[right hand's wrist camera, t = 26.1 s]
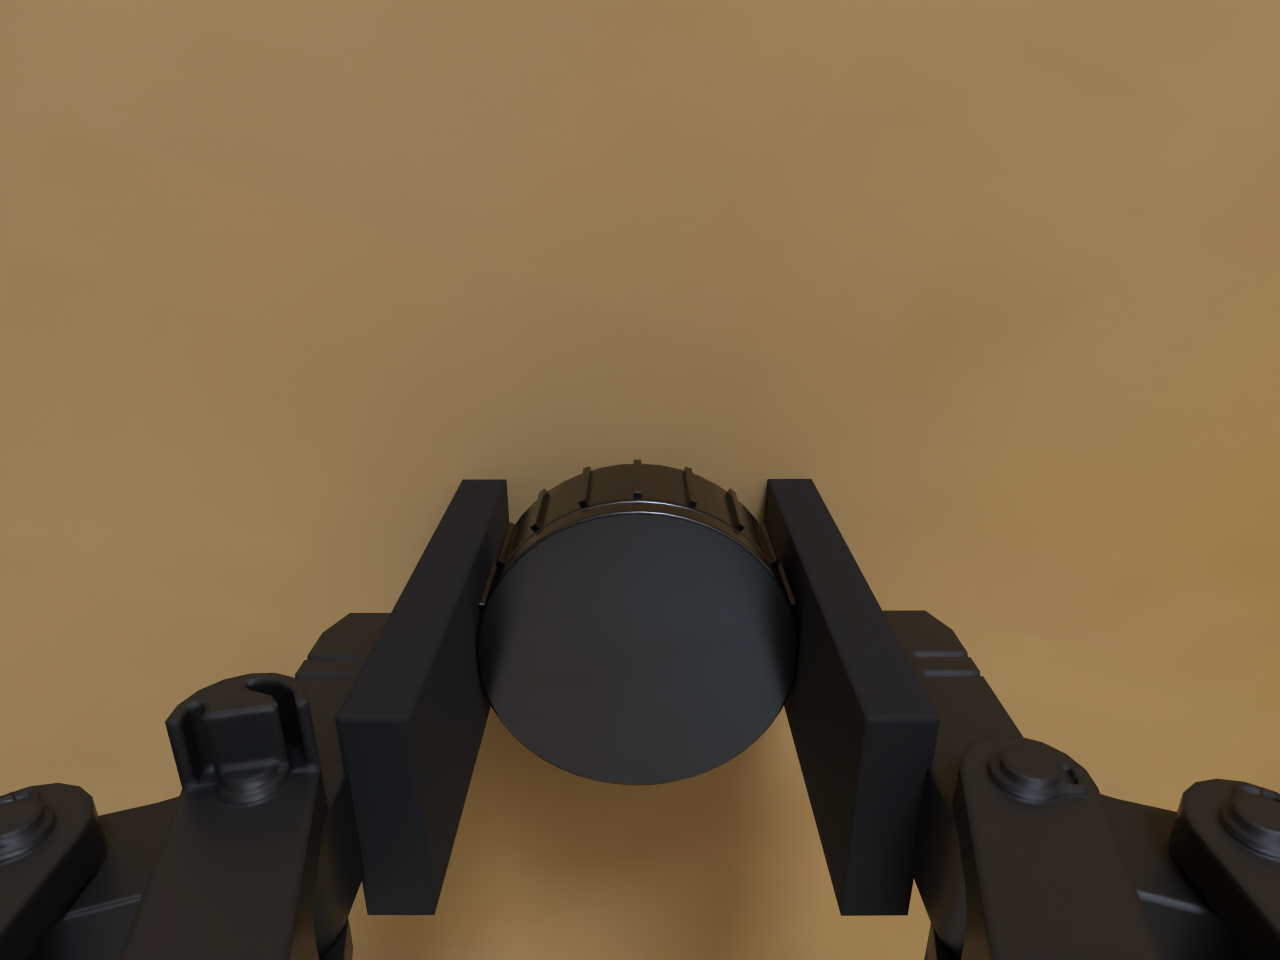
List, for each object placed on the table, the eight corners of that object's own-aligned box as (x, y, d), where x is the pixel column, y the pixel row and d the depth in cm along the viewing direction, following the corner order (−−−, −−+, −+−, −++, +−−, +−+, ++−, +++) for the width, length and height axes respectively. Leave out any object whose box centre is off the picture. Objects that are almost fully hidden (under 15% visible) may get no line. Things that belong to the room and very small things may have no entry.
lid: (836, 525, 13) (867, 583, 11) (706, 749, 14) (715, 827, 13) (556, 409, 12) (544, 452, 10) (451, 658, 14) (426, 729, 12)
